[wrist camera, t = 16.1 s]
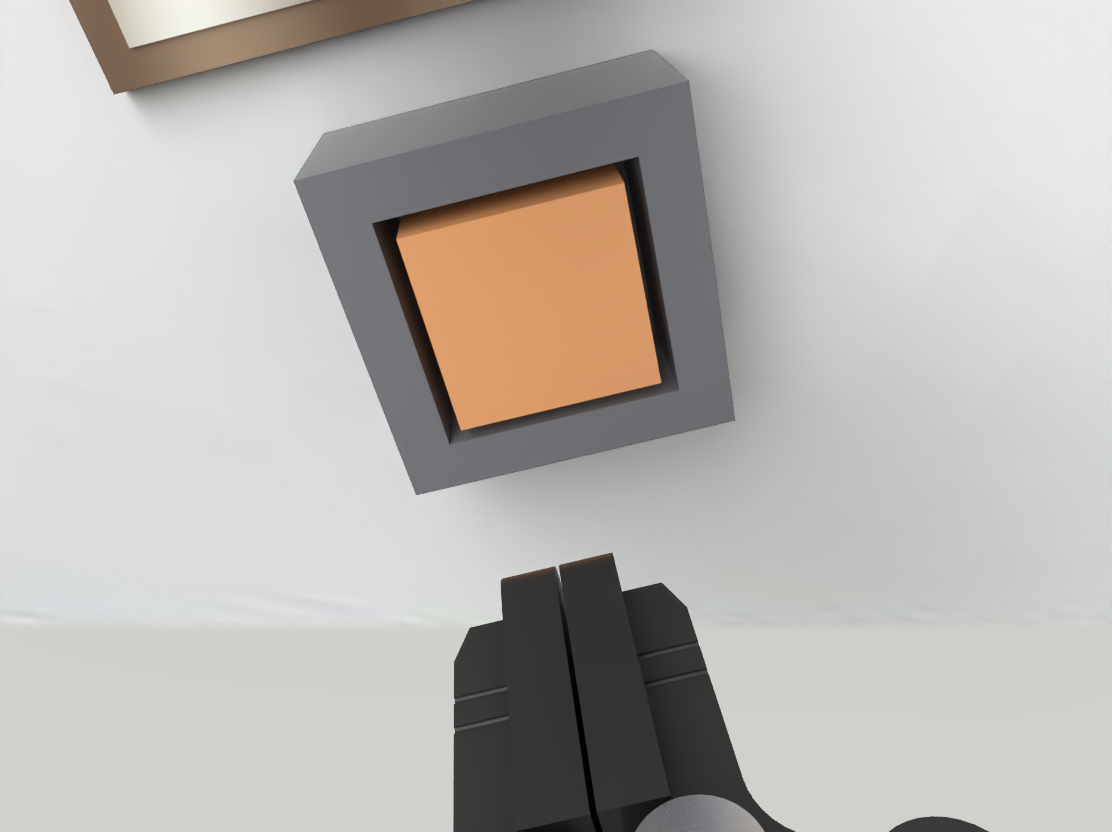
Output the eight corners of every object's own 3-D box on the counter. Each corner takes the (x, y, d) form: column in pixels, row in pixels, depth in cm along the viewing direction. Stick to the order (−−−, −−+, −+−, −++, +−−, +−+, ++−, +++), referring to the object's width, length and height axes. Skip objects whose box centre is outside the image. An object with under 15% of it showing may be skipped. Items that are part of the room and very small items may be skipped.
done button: (462, 370, 23) (460, 430, 20) (405, 196, 20) (396, 239, 18) (640, 327, 23) (661, 382, 20) (604, 146, 20) (624, 182, 18)
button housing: (424, 412, 25) (416, 494, 21) (323, 133, 21) (293, 180, 17) (698, 346, 24) (735, 420, 21) (651, 49, 20) (688, 80, 17)
